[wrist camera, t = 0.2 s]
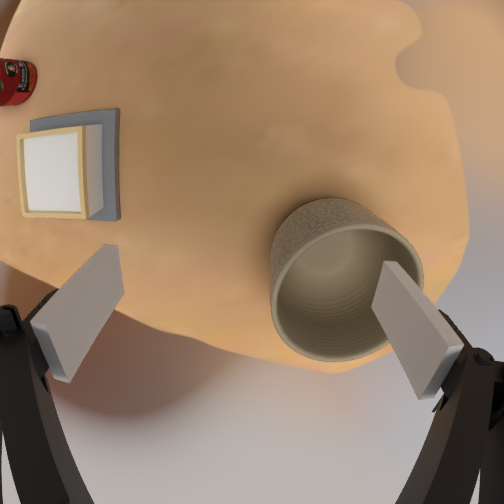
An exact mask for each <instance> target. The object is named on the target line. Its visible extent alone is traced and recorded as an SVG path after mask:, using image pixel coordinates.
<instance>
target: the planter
mask: <svg viewBox="0 0 504 504" xmlns="http://www.w3.org/2000/svg"><path fill="white" fill-rule="evenodd" d="M384 261H396V262H398V264H399V265H400V266H401V267H402V268H403V269H404V270H405V271H406V273H407V274H408V275H409V276H410V277H411V278H412V280H413V281H414V282H415V283H416V284H417V285H418V287H419V288H420V289H421V290H422V291H423V286H424V274H423V268H422V264H421V261H420V258H419V256H418V254H417V252H416V250H415V249H414V247H413V246H412V245H411V244H410V243H409V241H408V240H407V239H406V238H404V237H403V236H402V235H401V234H400V233H399V232H398V231H396V230H395V229H394V228H392V227H391V226H390V225H388V224H387V223H386V222H384V221H383V220H382V219H380V218H379V217H377V216H376V215H375V214H373V213H372V212H371V211H369V210H368V209H366V208H364V207H363V206H361V205H359V204H357V203H354V202H352V201H348V200H344V199H338V198H326V199H320V200H316V201H312V202H310V203H307V204H305V205H303V206H301V207H300V208H298V209H297V210H295V211H294V212H293V213H291V214H290V215H289V216H288V217H287V218H286V219H285V221H284V222H283V223H282V224H281V226H280V227H279V229H278V231H277V232H276V234H275V237H274V239H273V242H272V246H271V250H270V258H269V272H270V307H271V315H272V320H273V323H274V326H275V329H276V331H277V333H278V334H279V336H280V337H281V339H282V340H283V341H284V342H285V343H286V344H287V345H288V346H289V347H290V348H291V349H293V350H294V351H296V352H297V353H299V354H301V355H303V356H305V357H307V358H310V359H314V360H318V361H324V362H343V361H350V360H354V359H358V358H361V357H364V356H367V355H369V354H372V353H374V352H376V351H378V350H379V349H381V348H383V347H384V346H386V345H387V344H389V343H390V341H389V339H388V337H387V336H386V334H385V332H384V330H383V328H382V326H381V324H380V322H379V321H378V319H377V317H376V315H375V313H374V311H373V310H372V308H371V306H372V303H373V299H374V296H375V292H376V289H377V285H378V281H379V278H380V274H381V270H382V266H383V262H384Z"/></svg>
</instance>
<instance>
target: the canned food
mask: <svg viewBox="0 0 504 504" xmlns="http://www.w3.org/2000/svg"><path fill="white" fill-rule="evenodd" d="M36 79H37V73H36V69H35V67H34V66H33V65H32V64H31V63H29V62H27V61H21V60H13V59H4V58H0V106H11V105H18V104H20V103H22V102H24V101H25V100H26V99H27V98H28V97H29V96H30V95H31V93H32V92H33V90H34V87H35V84H36Z"/></svg>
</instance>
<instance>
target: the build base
mask: <svg viewBox="0 0 504 504" xmlns="http://www.w3.org/2000/svg"><path fill="white" fill-rule="evenodd" d="M119 118H120V109H108V110H97V111H88V112H80V113H72V114H65V115H58V116H52V117H46V118H41V119H35V120H30V133H26V134H20V135H16V143H17V168H18V181H19V192H20V201H21V209H22V216H23V217H35V218H57V219H81V220H103V221H118V220H119V219H120V218H121V214H120V194H119Z"/></svg>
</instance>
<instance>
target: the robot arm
mask: <svg viewBox="0 0 504 504" xmlns="http://www.w3.org/2000/svg"><path fill="white" fill-rule="evenodd" d="M123 295H124V287H123V280H122V274H121V266H120V259H119V250H118V245H112V244H104V245H103V246H102V247H101V248H100V249H99V250H98V251H97V252H96V253H95V254H94V255H93V256H92V257H90V258H89V259H88V260H87V261H86V262H85V263H84V264H83V265H82V266H81V267H80V268H79V269H78V270H77V271H76V272H75V273H74V274H73V275H72V276H71V277H70V278H69V279H68V281H67V282H66V283H65V284H64V285H63V286H62V287H61V288H60V289H55V290H54V291H52V292H51V293H49V294H47V295H46V296H45V297H44V299H43V300H42V301H41V302H40V303H39V304H38V305H37V306H36V308H34V309H33V310H32V311H31V313H30V314H29V315H28V316H27V317H26V318H25V319H24V320H23V321H22V320H21V318H20V315H19V312H18V309H17V307H15V306H14V305H3V306H0V504H3V499H2V477H1V454H2V451H1V450H2V432H3V435H4V440H5V446H6V450H7V455H8V460H9V464H10V468H11V472H12V476H13V479H14V483H15V486H16V490H17V493H18V496H19V499H20V502H21V504H94V502H93V500H92V498H91V496H90V494H89V492H88V490H87V488H86V486H85V484H84V482H83V480H82V478H81V476H80V473H79V471H78V468H77V466H76V464H75V461H74V459H73V456H72V454H71V451H70V449H69V446H68V444H67V441H66V438H65V436H64V433H63V430H62V427H61V424H60V421H59V418H58V415H57V412H56V409H55V405H54V402H53V398H52V395H51V392H50V387H49V383H48V380H47V378H46V376H45V373H46V372H47V370H48V368H49V369H50V371H51V373H52V375H53V377H54V378H55V379H58V380H61V381H65V382H68V383H70V381H71V379H72V378H73V376H74V374H75V372H76V371H77V369H78V367H79V365H80V364H81V362H82V360H83V359H84V357H85V355H86V354H87V352H88V350H89V348H90V347H91V345H92V343H93V342H94V340H95V339H96V337H97V335H98V334H99V332H100V330H101V329H102V327H103V326H104V324H105V322H106V321H107V319H108V318H109V316H110V315H111V313H112V311H113V310H114V308H115V307H116V305H117V304H118V302H119V301H120V299H121V298H122V296H123ZM371 308H372V310H373V311H374V313H375V315H376V317H377V319H378V321H379V322H380V324H381V326H382V328H383V330H384V332H385V334H386V336H387V337H388V339H389V341H390V343H391V345H392V347H393V349H394V351H395V353H396V355H397V357H398V359H399V361H400V363H401V365H402V367H403V369H404V371H405V373H406V375H407V377H408V379H409V381H410V383H411V385H412V387H413V389H414V391H415V393H416V395H417V398H418V400H423V399H428V398H433V397H434V396H435V395H436V393H437V392H438V390H439V388H440V387H441V388H442V390H443V392H444V394H443V396H442V398H441V399H440V400H439V402H438V403H437V405H436V406H435V408H434V409H433V411H432V412H435V411H436V413H435V416H434V419H433V422H432V425H431V427H430V430H429V432H428V435H427V438H426V440H425V442H424V445H423V447H422V450H421V452H420V455H419V457H418V459H417V461H416V463H415V466H414V468H413V470H412V472H411V474H410V476H409V478H408V480H407V482H406V484H405V486H404V488H403V490H402V492H401V494H400V496H399V498H398V499H397V501H396V503H395V504H470V501H471V498H472V495H473V492H474V488H475V485H476V481H477V478H478V474H479V470H480V488H479V489H480V490H479V502H478V504H504V362H500V361H495V360H494V358H493V356H492V355H491V354H490V353H489V352H487V351H486V350H484V349H481V348H473V347H472V346H471V345H470V343H469V342H468V341H467V339H466V338H465V337H464V335H463V334H462V333H461V332H460V330H458V328H457V326H456V325H455V324H454V323H453V321H452V320H451V319H450V318H449V316H448V315H446V314H445V313H443V312H442V311H441V310H437V308H436V307H435V306H434V305H433V303H432V302H431V301H430V300H429V299H428V297H427V296H426V295H425V294H424V293H423V291H422V290H421V289H420V288H419V287H418V285H417V284H416V283H415V282H414V281H413V280H412V278H411V277H410V276H409V275H408V274H407V273H406V271H405V270H404V269H403V268H402V267H401V266H400V265H399V264H398V262H396V261H384V262H383V266H382V270H381V274H380V278H379V281H378V285H377V289H376V292H375V296H374V299H373V303H372V306H371ZM436 409H437V410H436Z"/></svg>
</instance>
